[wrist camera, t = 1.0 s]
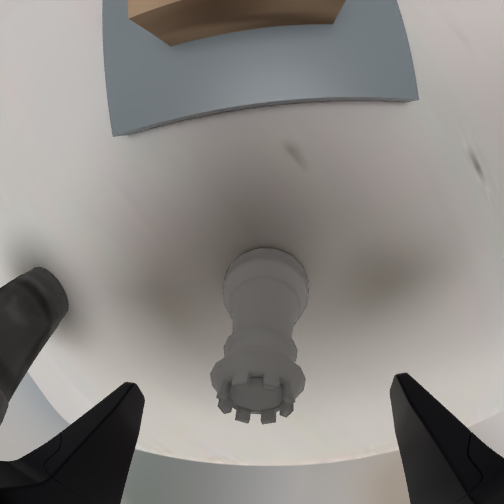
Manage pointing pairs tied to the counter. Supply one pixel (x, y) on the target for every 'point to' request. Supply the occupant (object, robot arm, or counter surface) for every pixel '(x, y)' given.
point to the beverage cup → (26, 325)
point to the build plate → (254, 66)
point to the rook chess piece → (261, 336)
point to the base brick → (225, 16)
